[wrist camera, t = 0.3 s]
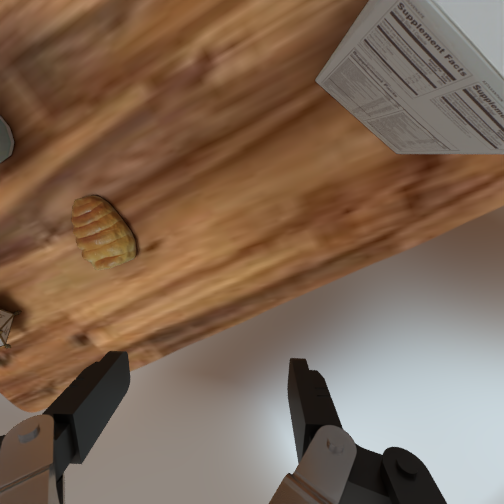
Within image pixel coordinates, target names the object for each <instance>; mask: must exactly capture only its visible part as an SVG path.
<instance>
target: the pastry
mask: <svg viewBox="0 0 504 504" xmlns="http://www.w3.org/2000/svg"><path fill="white" fill-rule="evenodd" d="M71 221H72V223H73V225H74V229H73V234H74V235H75V236H76V243H77V246H78V247H79V248H80V249H82V250H83V251H82V257H83V258H84V259H85V260H87V261H89V262H91V264H92V265H93V267H94V269H95V270H103V269H109V268H112V267H114V266H116V265H120V264H122V263H125V262H127V261H130V260H133V259H134V258H135V256H136V243H135V239H134V237H133V235H132V232H131V230H130V229H129V228H128V226H127V225H126V224H125V222H124V220H123V219H122V218H121V217H120V216H119V214H118V213H117V212H116V211H115V209H114V208H113V207H112V206H111V205H110V204H109V203H108V202H106V201H105V200H104V199H102V198H101V197H98V196H95V195H91V196H86V197H83V198H79V199H76V200H75V201H74V205H73V207H72V218H71Z"/></svg>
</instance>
